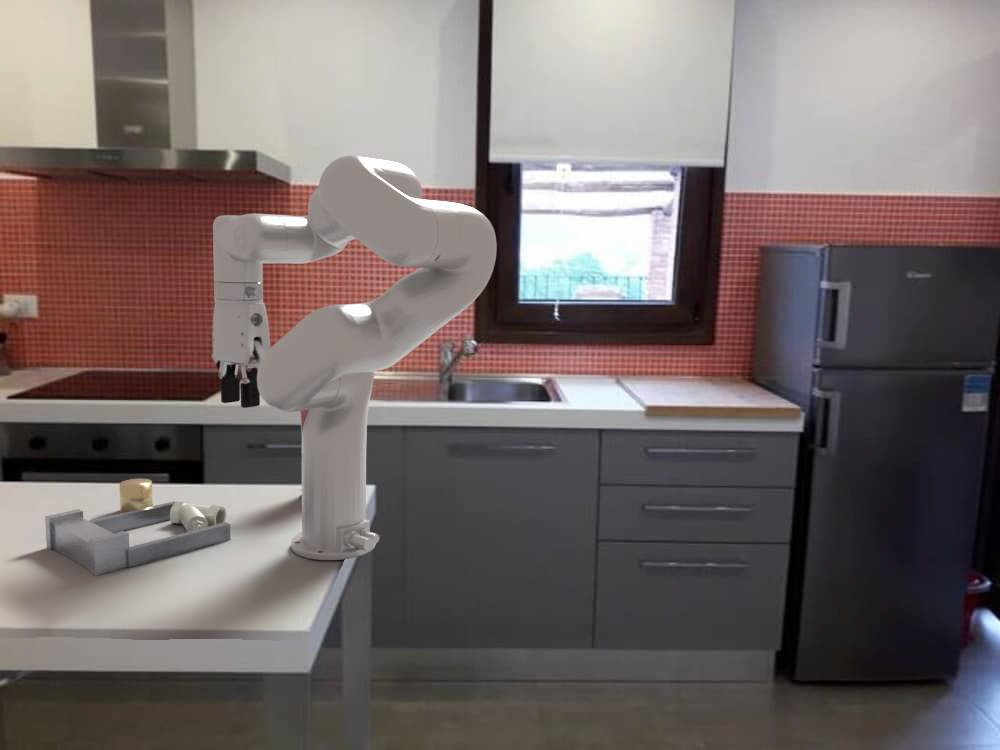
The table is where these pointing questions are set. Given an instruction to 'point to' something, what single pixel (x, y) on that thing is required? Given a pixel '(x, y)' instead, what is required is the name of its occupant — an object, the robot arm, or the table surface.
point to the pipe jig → (122, 538)
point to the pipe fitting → (196, 515)
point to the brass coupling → (135, 494)
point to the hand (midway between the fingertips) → (240, 403)
